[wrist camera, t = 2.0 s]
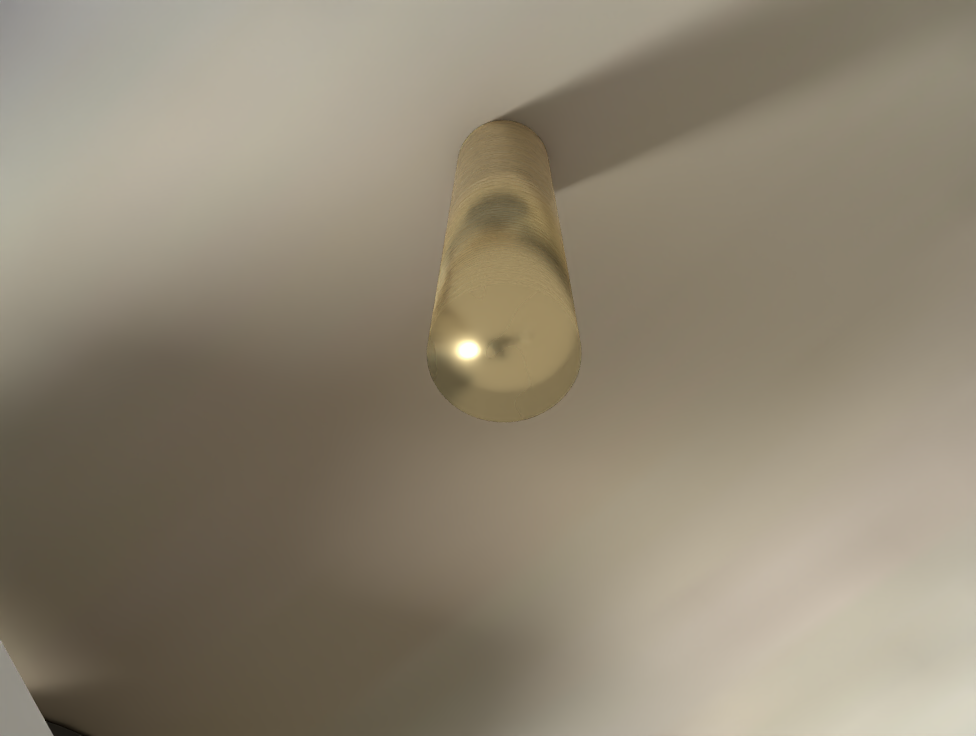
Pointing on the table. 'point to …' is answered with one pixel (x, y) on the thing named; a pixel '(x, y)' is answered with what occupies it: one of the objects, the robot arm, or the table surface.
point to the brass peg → (503, 283)
